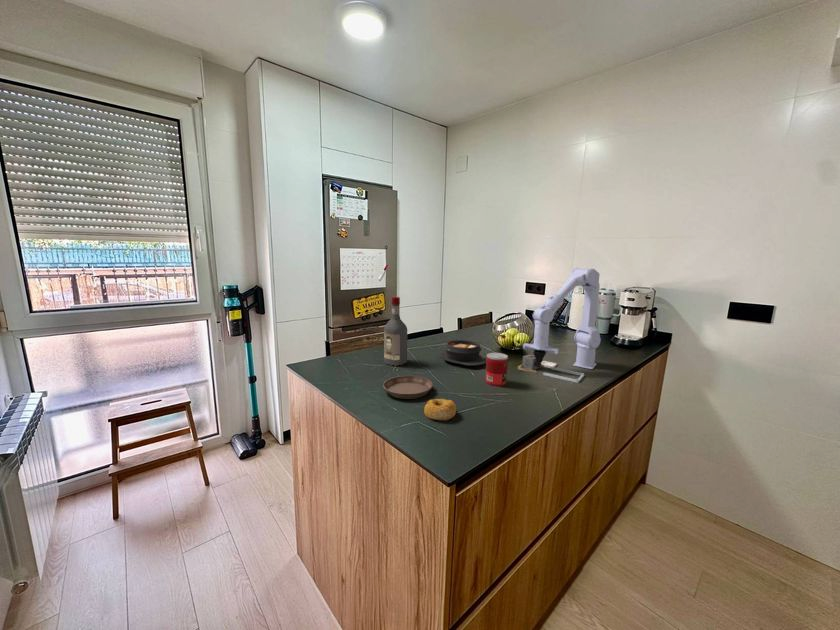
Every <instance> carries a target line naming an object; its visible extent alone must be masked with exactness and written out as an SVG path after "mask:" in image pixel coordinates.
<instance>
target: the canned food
mask: <svg viewBox="0 0 840 630" xmlns="http://www.w3.org/2000/svg"><path fill="white" fill-rule="evenodd" d="M485 360H486V363H485V383H486V384H487V385H490V386H492V387H503V386H506V385H507V380H508V367H509V366H508V365H509V355H507V354H505V353H501V352H490V353H489V352H488V353H486V359H485Z"/></svg>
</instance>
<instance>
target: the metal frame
mask: <svg viewBox="0 0 840 630" xmlns="http://www.w3.org/2000/svg"><path fill="white" fill-rule="evenodd" d="M549 369H550V370H553V371H557V372H562V373H567V374H571V375H576V376H579V377H578V379H575V378H572V377H571V378H570V377H566V376H561V375H557V374H554V373H548V372H543V373H542V374H543V376H546V377H550V378H555V379H559V380H562V381H563V380H564V381H569V382H571V383H572V382H573V383H580V381H582V379H583V378H584V377H585V373H584V372H578V371H575V370H574V371H573V370H570V369H564V368H559V367H556V366H555V367H551V368H549Z"/></svg>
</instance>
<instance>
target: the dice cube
mask: <svg viewBox="0 0 840 630" xmlns="http://www.w3.org/2000/svg"><path fill="white" fill-rule="evenodd" d="M521 364H522V368H526V369H530V370H535V371H536V370H537V369H539V368H538V367H537V360H536V357H535V355H534V354H527V355H523V356H522V362H521Z"/></svg>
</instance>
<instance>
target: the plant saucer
mask: <svg viewBox="0 0 840 630" xmlns="http://www.w3.org/2000/svg"><path fill="white" fill-rule="evenodd" d="M382 386H383V388H384V390H385V391H386V392H387V394H389V395H390V396H391V397H393V398H397V399H402V400H412V399H413V400H414V399H419V398H422V397H424V396H426V395H427V394H428V393H429V392H430V390H431V389H432V388H433V382H432V381H431V380H430V379H428V378H425V377H422V376H417V375H400V376H399V375H398V376H395V377H391V378H388V379H387V380H385V381H384V382H383V385H382Z"/></svg>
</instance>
